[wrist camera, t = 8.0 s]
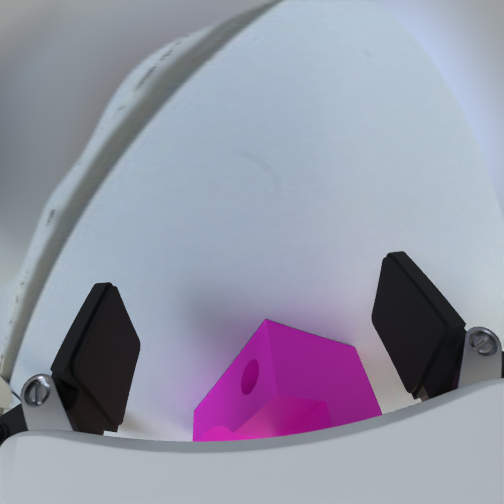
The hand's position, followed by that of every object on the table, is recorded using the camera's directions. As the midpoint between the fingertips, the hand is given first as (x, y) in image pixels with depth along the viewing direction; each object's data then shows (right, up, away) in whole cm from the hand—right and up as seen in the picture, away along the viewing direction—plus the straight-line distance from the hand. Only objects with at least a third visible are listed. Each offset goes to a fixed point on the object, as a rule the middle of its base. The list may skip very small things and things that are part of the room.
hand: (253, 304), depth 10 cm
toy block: (0, -9, +9) cm, 12 cm away
